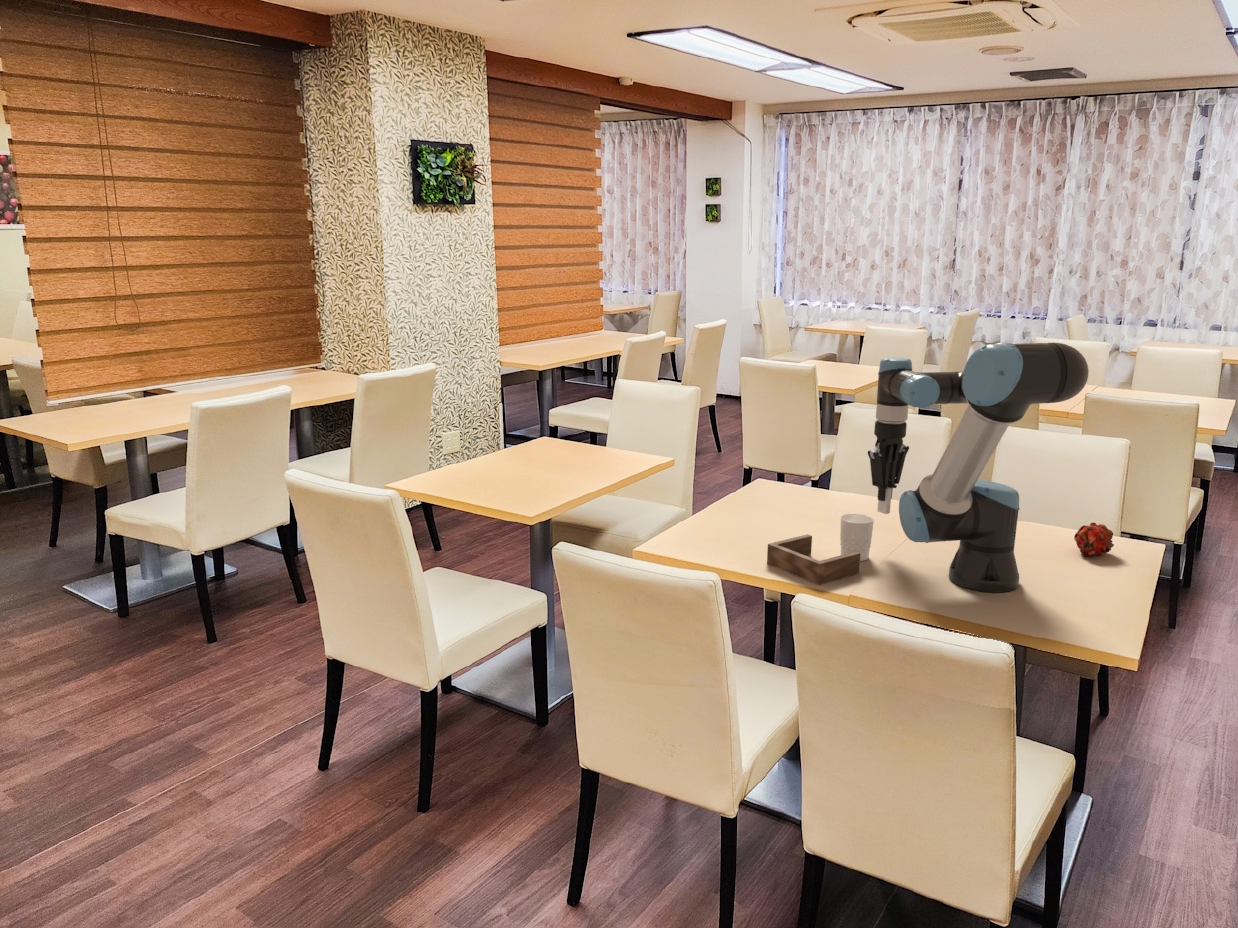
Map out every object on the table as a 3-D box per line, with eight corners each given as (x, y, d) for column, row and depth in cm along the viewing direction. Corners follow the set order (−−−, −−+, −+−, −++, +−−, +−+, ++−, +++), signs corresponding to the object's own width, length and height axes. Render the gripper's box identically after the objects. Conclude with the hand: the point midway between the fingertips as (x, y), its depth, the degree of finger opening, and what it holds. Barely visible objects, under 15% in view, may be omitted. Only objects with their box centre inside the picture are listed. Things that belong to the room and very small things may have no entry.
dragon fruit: (1101, 553, 238) (1087, 572, 230) (1073, 530, 241) (1059, 548, 232) (1125, 533, 233) (1112, 552, 224) (1097, 510, 235) (1083, 527, 227)
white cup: (871, 563, 226) (874, 524, 224) (838, 561, 228) (841, 522, 225) (870, 552, 234) (872, 514, 231) (837, 550, 235) (840, 512, 233)
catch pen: (858, 573, 219) (860, 553, 218) (818, 584, 212) (819, 564, 211) (806, 553, 233) (807, 534, 232) (766, 563, 226) (767, 543, 224)
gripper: (896, 415, 235) (888, 504, 241) (861, 421, 228) (854, 512, 234) (920, 420, 229) (912, 511, 235) (885, 426, 222) (877, 520, 228)
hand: (883, 512), depth 234 cm, fingers closed
